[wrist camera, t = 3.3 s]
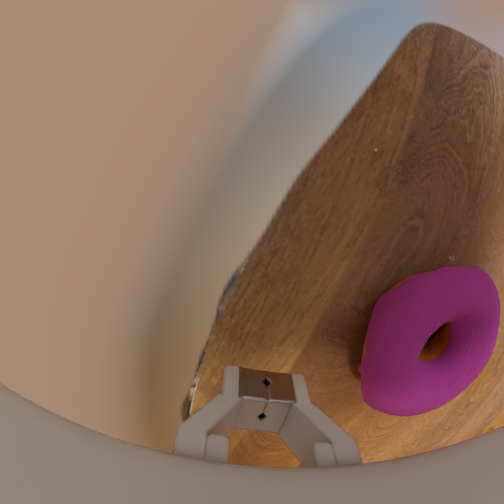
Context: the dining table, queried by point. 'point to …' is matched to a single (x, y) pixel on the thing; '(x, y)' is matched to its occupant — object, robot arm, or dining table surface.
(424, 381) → the donut
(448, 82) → the dining table surface
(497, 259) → the dining table surface
